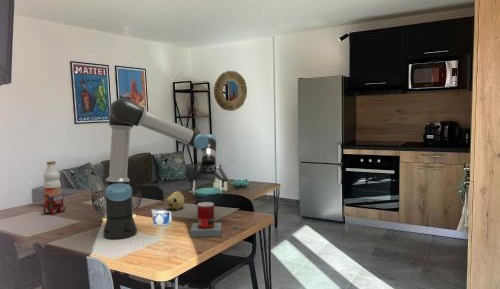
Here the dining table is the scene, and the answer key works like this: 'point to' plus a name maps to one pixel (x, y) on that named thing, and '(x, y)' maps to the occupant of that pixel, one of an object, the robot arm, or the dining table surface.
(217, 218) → the dining table surface
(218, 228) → the grey flat block
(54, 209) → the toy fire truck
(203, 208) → the canned food
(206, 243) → the dining table surface
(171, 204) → the tan rounded lump
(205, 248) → the dining table surface
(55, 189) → the fruit juice
